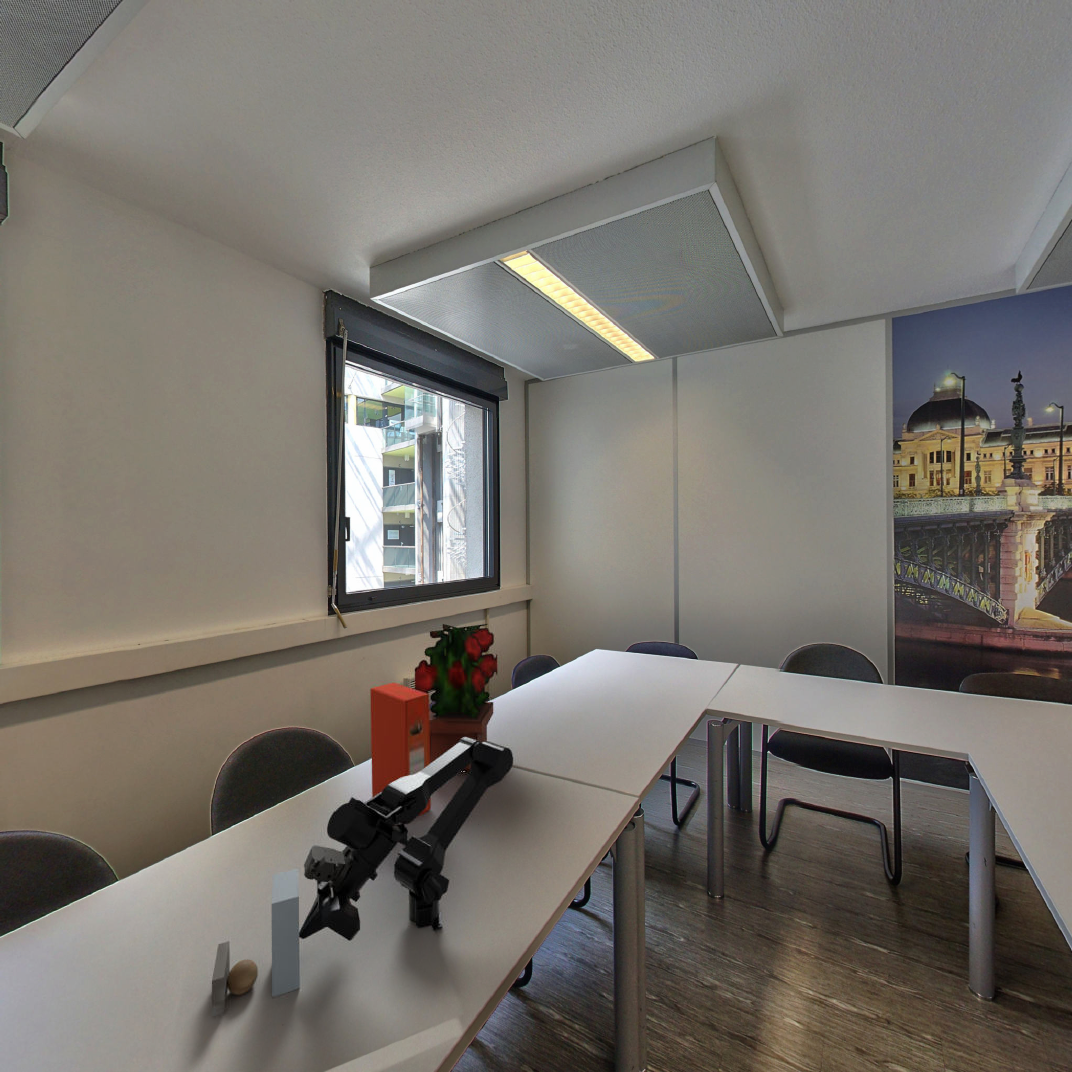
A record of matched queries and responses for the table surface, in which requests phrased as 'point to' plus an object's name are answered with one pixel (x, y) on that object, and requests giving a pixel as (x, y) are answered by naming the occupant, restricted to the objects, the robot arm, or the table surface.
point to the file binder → (398, 734)
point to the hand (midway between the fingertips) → (300, 936)
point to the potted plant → (457, 686)
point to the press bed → (220, 979)
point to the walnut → (242, 977)
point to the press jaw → (285, 932)
